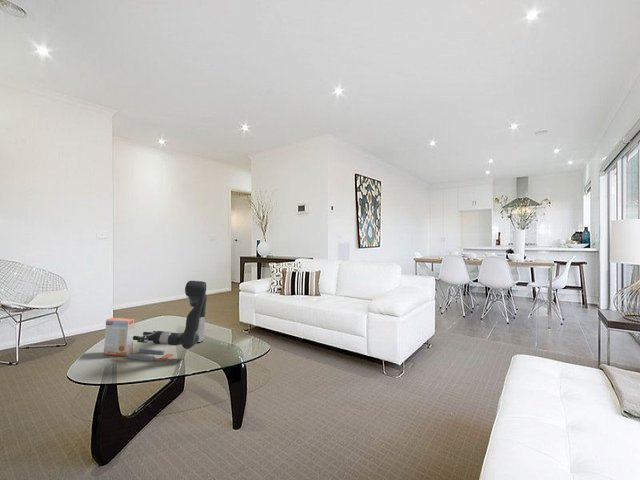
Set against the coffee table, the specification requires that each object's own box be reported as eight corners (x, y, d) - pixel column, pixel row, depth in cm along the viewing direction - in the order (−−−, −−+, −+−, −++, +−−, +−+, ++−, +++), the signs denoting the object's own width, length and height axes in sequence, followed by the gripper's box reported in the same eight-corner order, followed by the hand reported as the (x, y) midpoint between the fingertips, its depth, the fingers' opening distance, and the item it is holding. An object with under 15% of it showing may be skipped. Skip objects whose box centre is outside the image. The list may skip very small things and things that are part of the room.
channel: (140, 351, 184) (140, 348, 184) (164, 354, 183) (164, 350, 183) (127, 357, 174) (127, 354, 174) (152, 360, 172) (153, 357, 172)
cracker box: (132, 353, 181) (135, 318, 182) (125, 357, 175) (128, 321, 176) (111, 351, 182) (113, 316, 183) (103, 355, 176) (105, 319, 177)
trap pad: (167, 354, 183) (167, 353, 183) (173, 354, 182) (173, 354, 182) (155, 361, 172) (155, 360, 172) (162, 361, 171) (162, 361, 171)
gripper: (171, 328, 184) (146, 326, 186) (156, 335, 170) (130, 332, 172) (170, 340, 184) (146, 338, 186) (155, 348, 170) (129, 345, 172)
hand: (138, 335), depth 179 cm, fingers open, 8 cm apart
